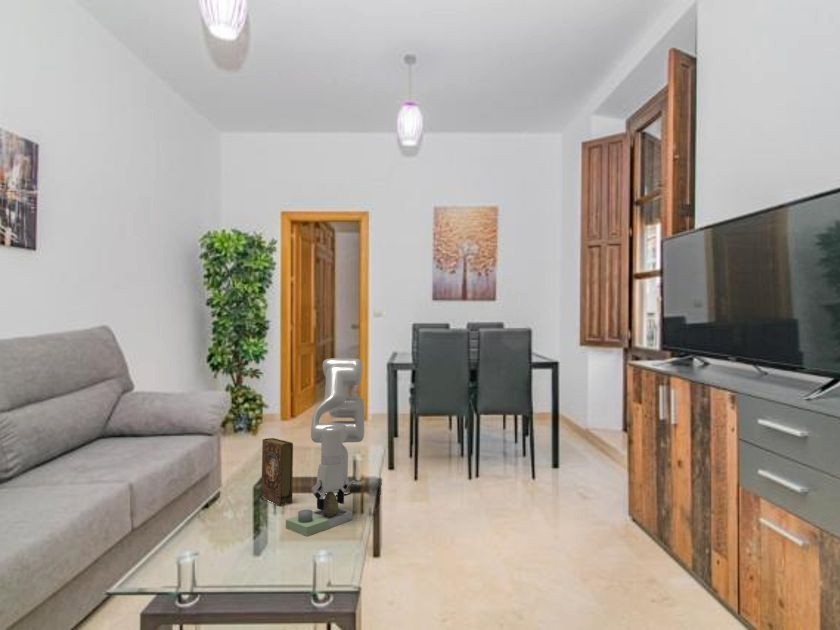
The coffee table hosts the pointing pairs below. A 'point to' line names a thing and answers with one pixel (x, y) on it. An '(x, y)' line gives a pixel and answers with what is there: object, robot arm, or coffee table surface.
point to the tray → (336, 517)
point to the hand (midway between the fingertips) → (330, 506)
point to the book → (277, 470)
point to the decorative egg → (330, 505)
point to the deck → (307, 523)
